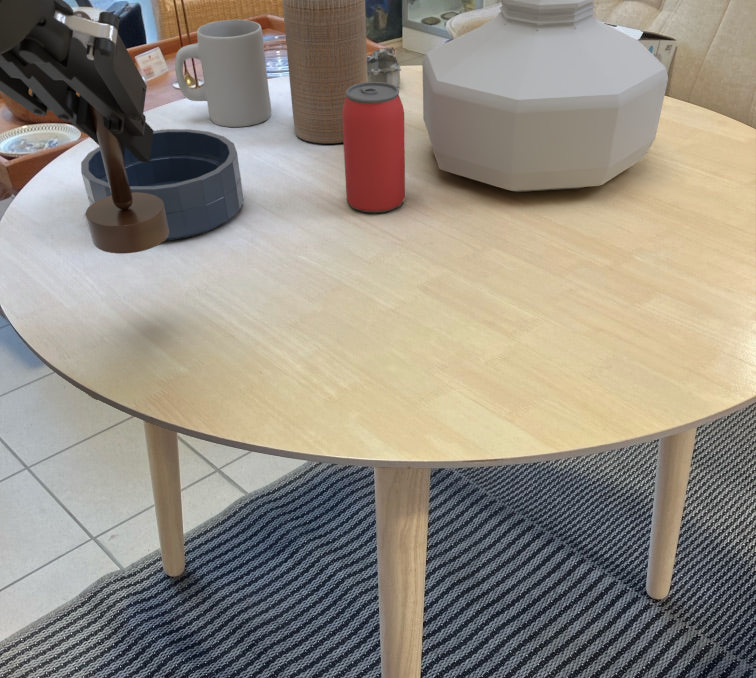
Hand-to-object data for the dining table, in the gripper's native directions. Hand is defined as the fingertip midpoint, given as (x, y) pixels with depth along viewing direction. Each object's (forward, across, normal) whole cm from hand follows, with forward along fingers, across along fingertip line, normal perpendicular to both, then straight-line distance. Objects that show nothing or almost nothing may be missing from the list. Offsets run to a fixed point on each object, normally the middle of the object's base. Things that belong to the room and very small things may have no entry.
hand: (134, 145), depth 71 cm
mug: (+45, -11, +24) cm, 52 cm away
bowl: (+25, -8, +3) cm, 26 cm away
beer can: (+29, +15, +7) cm, 33 cm away
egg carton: (+56, +5, +34) cm, 66 cm away
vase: (+43, +5, +22) cm, 49 cm away
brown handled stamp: (+2, 0, -7) cm, 7 cm away
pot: (+39, +31, +17) cm, 53 cm away
